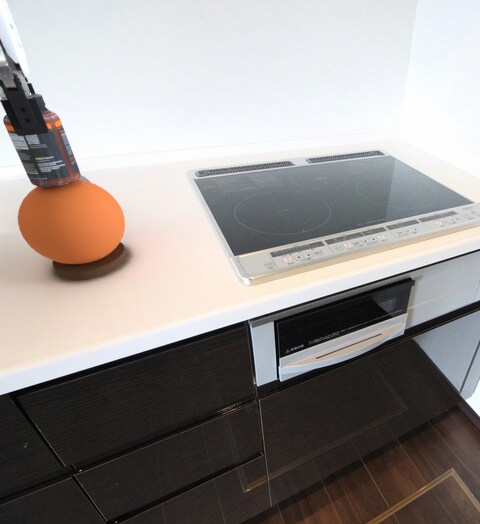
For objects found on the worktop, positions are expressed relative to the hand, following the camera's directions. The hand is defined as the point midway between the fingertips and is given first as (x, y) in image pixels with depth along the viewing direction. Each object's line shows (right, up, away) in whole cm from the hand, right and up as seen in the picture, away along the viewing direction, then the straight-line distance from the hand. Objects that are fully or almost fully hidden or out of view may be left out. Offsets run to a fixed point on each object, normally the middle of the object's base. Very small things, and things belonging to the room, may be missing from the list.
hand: (31, 124), depth 47 cm
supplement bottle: (0, -7, +5) cm, 8 cm away
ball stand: (-1, -18, +13) cm, 22 cm away
